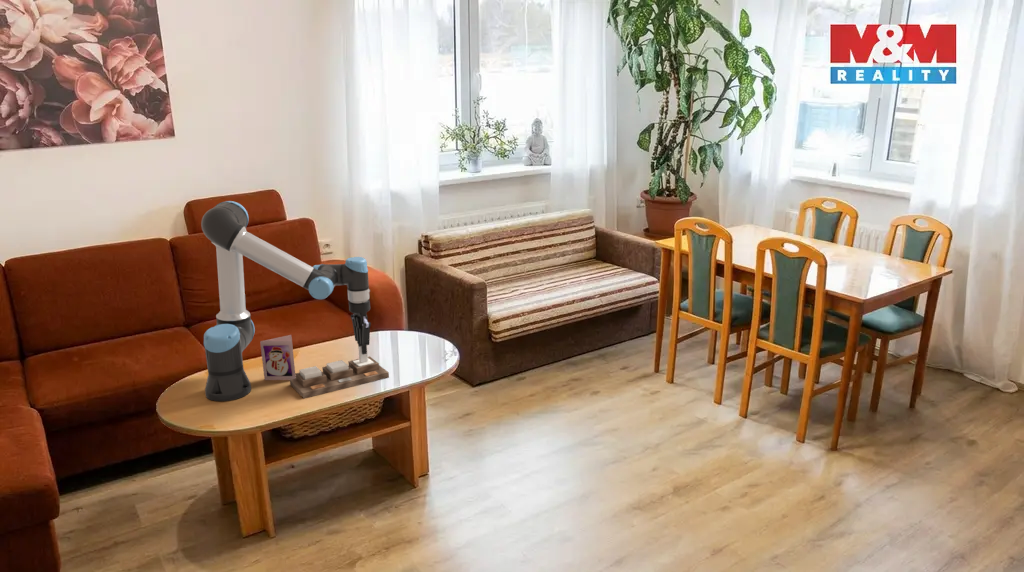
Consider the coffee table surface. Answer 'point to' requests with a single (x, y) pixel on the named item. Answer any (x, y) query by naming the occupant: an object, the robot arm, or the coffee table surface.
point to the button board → (338, 379)
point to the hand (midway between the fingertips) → (363, 361)
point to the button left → (310, 372)
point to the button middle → (337, 366)
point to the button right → (363, 363)
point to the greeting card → (278, 358)
